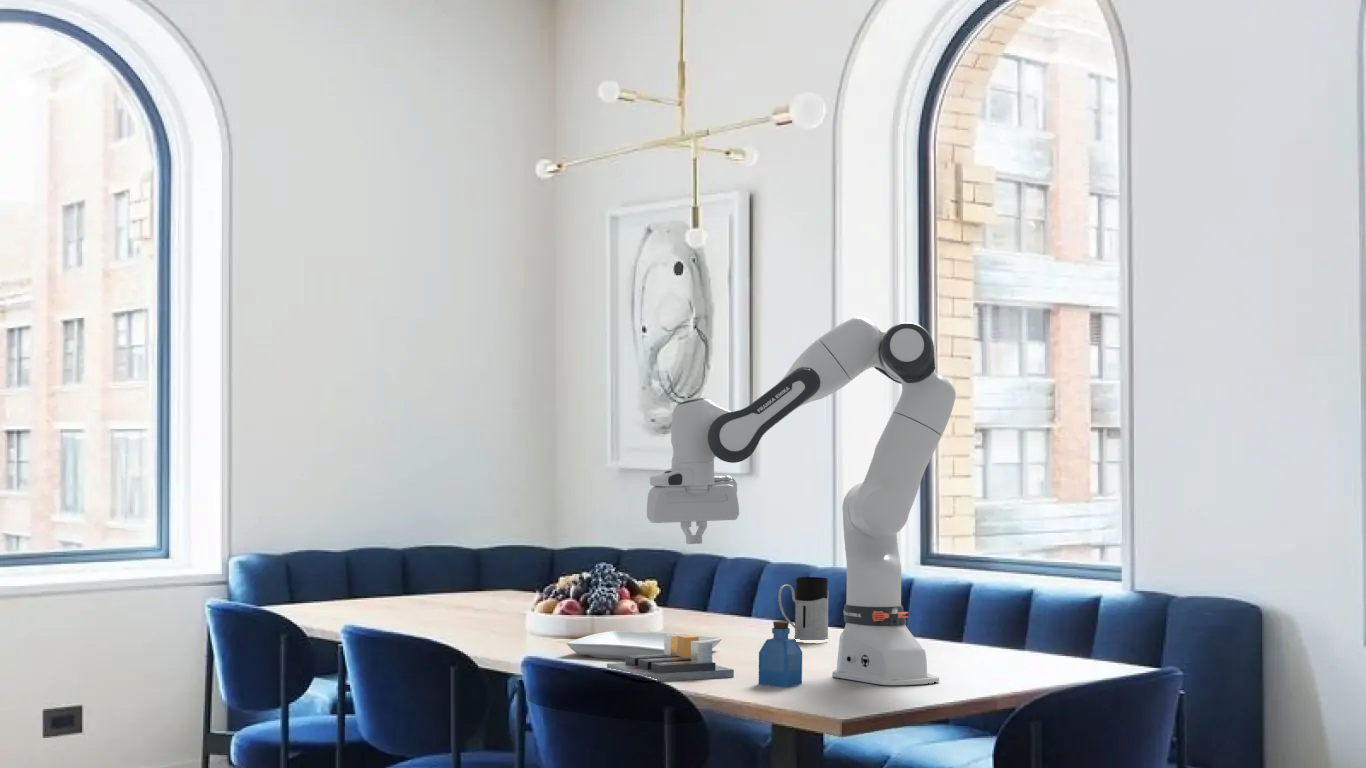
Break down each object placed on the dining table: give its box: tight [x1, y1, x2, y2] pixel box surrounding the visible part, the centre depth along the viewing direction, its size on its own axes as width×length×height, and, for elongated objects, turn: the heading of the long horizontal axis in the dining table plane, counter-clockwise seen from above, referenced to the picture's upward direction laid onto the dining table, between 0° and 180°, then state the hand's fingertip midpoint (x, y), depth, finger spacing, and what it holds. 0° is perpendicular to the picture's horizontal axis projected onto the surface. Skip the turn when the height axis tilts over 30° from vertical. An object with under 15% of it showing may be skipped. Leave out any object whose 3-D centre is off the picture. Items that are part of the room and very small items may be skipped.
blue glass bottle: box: [758, 620, 803, 688], centre depth 325 cm, size 6×6×12 cm
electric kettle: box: [777, 576, 829, 640], centre depth 397 cm, size 9×14×15 cm, turn 124°
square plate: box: [565, 630, 723, 660], centre depth 369 cm, size 27×27×4 cm
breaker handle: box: [677, 634, 699, 658], centre depth 338 cm, size 3×3×4 cm
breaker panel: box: [606, 633, 735, 682], centre depth 336 cm, size 17×20×7 cm
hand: (694, 543), depth 346 cm, fingers closed
